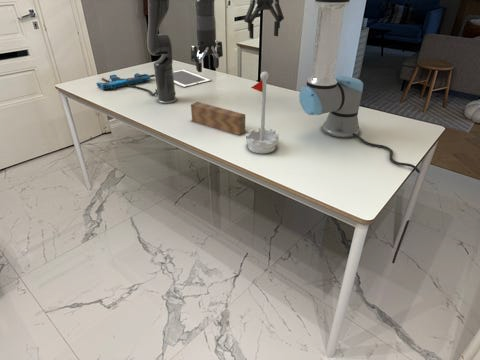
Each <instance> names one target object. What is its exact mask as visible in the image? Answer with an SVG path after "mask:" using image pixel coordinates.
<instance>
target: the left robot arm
mask: <svg viewBox="0 0 480 360" xmlns="http://www.w3.org/2000/svg"><path fill="white" fill-rule="evenodd" d="M215 1H216V0H195V1H194V2H195V28H196V29H195V31H196V41H197V45H192V44H191V46H190V60H191V61H192V62H194V63H195V69H196V71H197V72H198V73H203V67H202V65H203V64H202V62H203V59H204V58H205V56H212V57H213V68H214V69H219V67H220V58H221V57H224V53H223V52H224V51H223V42H222V41H220V40H217V25H216V22H217V21H216V15H215V14H216V13H215ZM169 9H170V0H147V11H148V15H147V17H148V24H147V35H146V45H147V46H146V47H147V51H148V52H149V55H151V56H160V57H159V59H157V60H155V61H154V62H153V71H154V74H155V77H154V78H155V85H156V88H155V89H154V92H152V90H150V89H147V88H144V87H140V86H136V85H132V84H128V85H123V87H129V88H133V89H138V90H143V91H146V92H148V93H149V94H150V95H151V96H152V97H153V96H157V102H159V103H160V104H172V103H175V102H176V101H177V96H176V94H177V92H176V87H175V83H174V77H173V72H174V70H173V69H174V68H173V47H172V46H173V45H172V41H171V37H170V36H169V34H167V33H159V30H160V28H161V25H162V23H163V21H164V20H165V18H166V16H167V14H168V12H169ZM101 80H103V81H105V82H111V81H112V80H108V79H105V78H104V77H102V78H101Z"/></svg>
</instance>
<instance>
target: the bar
mask: <svg viewBox="0 0 480 360" xmlns="http://www.w3.org/2000/svg"><path fill="white" fill-rule="evenodd" d="M190 111H191V121H192V122H194V123H197V124H200V125H204V126H207V127H210V128H214V129H217V130H221V131H223V132H227V133H231V134H233V135H237V136H242V134H244V133H246V114H245V113H242V112H238V111H234V110H230V109H226V108H223V107H219V106H215V105H211V104H207V103H204V102H200V101H195V102H193V103H191V104H190Z"/></svg>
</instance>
